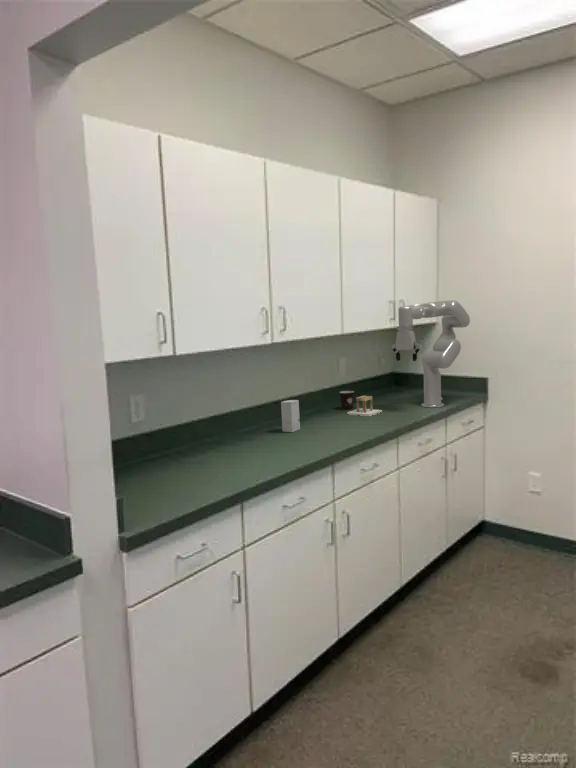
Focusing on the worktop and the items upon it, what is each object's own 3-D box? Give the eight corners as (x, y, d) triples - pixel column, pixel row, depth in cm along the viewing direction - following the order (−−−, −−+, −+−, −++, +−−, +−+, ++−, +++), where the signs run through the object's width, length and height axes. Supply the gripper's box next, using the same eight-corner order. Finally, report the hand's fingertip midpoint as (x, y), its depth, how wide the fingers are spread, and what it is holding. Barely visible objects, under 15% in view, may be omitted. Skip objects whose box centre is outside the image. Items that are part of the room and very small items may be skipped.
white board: (360, 410, 335) (360, 408, 334) (382, 412, 326) (382, 410, 326) (347, 414, 324) (347, 412, 324) (369, 416, 315) (369, 414, 315)
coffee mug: (339, 410, 338) (339, 393, 336) (340, 407, 346) (339, 391, 345) (360, 410, 336) (359, 392, 335) (360, 407, 345) (359, 390, 343)
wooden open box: (356, 412, 323) (356, 397, 322) (364, 409, 330) (363, 395, 329) (365, 412, 320) (364, 398, 319) (372, 410, 326) (372, 396, 325)
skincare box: (292, 432, 284) (291, 402, 282) (281, 431, 287) (280, 401, 285) (300, 429, 291) (299, 399, 289) (290, 428, 294) (288, 399, 292)
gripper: (388, 329, 321) (389, 361, 323) (417, 329, 310) (418, 361, 312) (394, 329, 327) (395, 359, 329) (423, 328, 316) (424, 360, 318)
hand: (406, 360), depth 321 cm, fingers open, 9 cm apart
